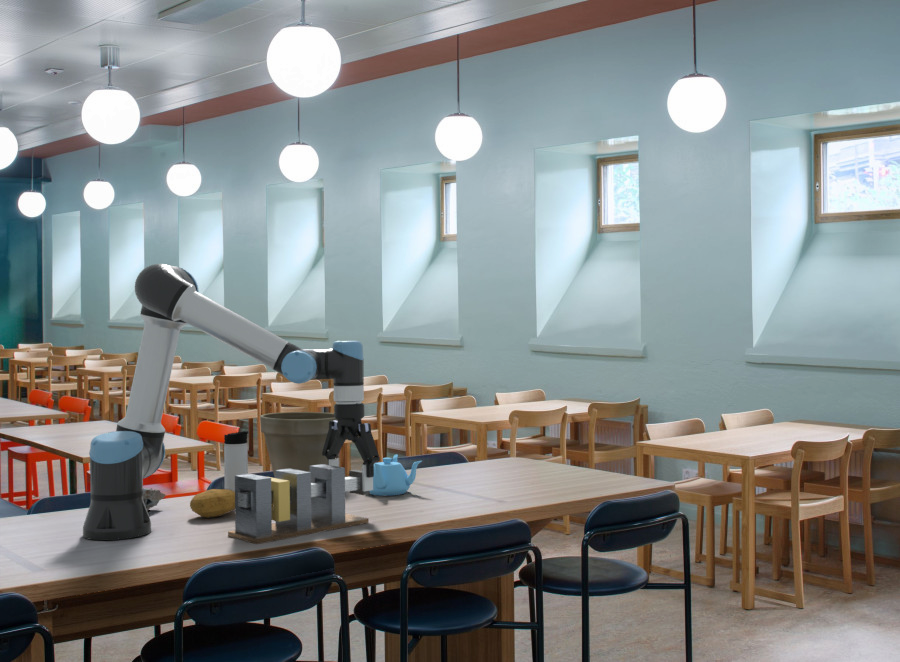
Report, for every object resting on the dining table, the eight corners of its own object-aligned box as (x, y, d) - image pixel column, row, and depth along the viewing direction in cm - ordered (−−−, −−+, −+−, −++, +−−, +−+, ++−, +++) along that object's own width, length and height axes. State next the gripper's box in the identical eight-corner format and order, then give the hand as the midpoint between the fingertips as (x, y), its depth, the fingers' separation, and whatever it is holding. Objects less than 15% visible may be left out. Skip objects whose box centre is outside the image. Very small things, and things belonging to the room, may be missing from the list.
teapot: (354, 492, 279) (353, 457, 279) (399, 487, 286) (399, 452, 286) (376, 499, 266) (375, 462, 266) (423, 494, 274) (422, 458, 274)
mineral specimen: (134, 529, 253) (158, 522, 248) (111, 512, 249) (134, 505, 244) (149, 499, 260) (173, 492, 254) (127, 482, 256) (150, 474, 250)
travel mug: (243, 506, 257) (242, 432, 257) (220, 505, 259) (220, 432, 258) (252, 502, 263) (252, 429, 263) (230, 501, 265) (229, 429, 265)
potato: (185, 516, 245) (185, 489, 245) (234, 510, 251) (234, 484, 251) (195, 522, 237) (194, 494, 237) (245, 516, 243) (244, 489, 243)
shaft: (248, 514, 214) (248, 489, 214) (235, 510, 218) (234, 486, 218) (369, 494, 238) (369, 471, 238) (355, 491, 242) (355, 469, 242)
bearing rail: (256, 543, 212) (255, 481, 212) (228, 535, 221) (227, 475, 220) (368, 522, 234) (368, 465, 234) (338, 515, 243) (338, 461, 243)
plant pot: (359, 482, 295) (358, 412, 295) (308, 495, 273) (307, 419, 273) (296, 477, 307) (295, 410, 307) (243, 488, 286) (242, 416, 286)
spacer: (279, 521, 218) (278, 482, 218) (257, 516, 224) (257, 478, 224) (290, 519, 220) (289, 480, 220) (268, 514, 226) (267, 476, 226)
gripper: (393, 403, 231) (394, 491, 231) (331, 399, 249) (332, 480, 249) (368, 405, 226) (370, 495, 226) (307, 401, 244) (309, 484, 244)
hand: (350, 487), depth 238 cm, fingers open, 13 cm apart
